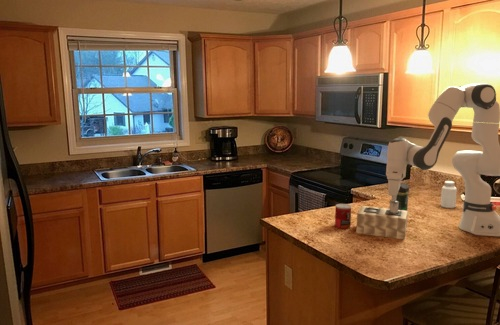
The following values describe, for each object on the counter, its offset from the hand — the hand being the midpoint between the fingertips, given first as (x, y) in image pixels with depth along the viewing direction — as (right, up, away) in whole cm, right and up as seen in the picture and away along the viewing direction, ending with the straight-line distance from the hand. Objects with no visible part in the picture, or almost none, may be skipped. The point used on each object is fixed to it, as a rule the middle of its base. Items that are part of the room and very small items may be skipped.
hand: (394, 200), depth 197 cm
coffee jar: (+12, -12, +27) cm, 32 cm away
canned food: (-22, -15, +12) cm, 29 cm away
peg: (0, -10, +2) cm, 10 cm away
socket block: (-4, -16, +5) cm, 17 cm away
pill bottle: (+49, -8, +48) cm, 68 cm away
